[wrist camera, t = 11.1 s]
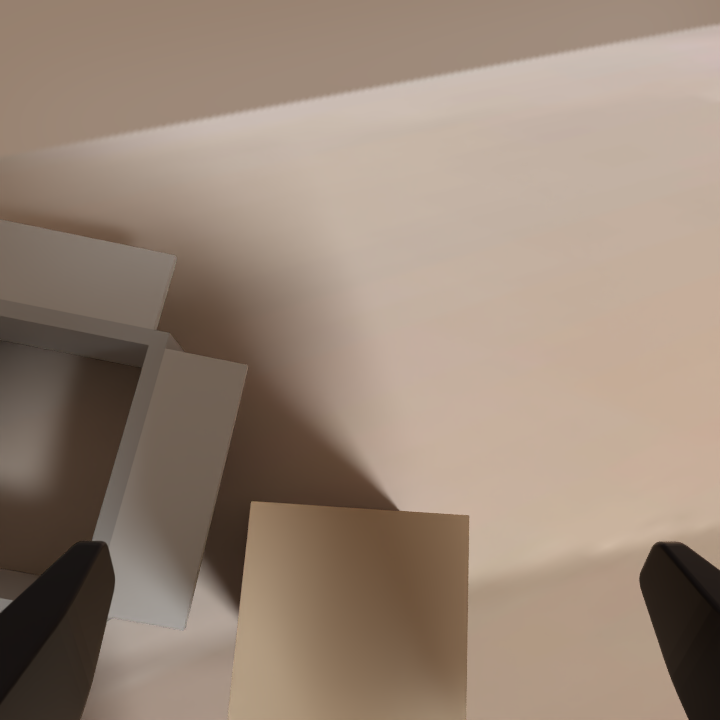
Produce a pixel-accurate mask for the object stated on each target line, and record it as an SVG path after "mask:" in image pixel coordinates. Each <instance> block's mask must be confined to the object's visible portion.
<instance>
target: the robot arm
mask: <svg viewBox="0 0 720 720" xmlns="http://www.w3.org/2000/svg"><path fill="white" fill-rule="evenodd" d="M639 579H640V587H641V591H642V594H643V597H644V600H645V603H646V606H647V609H648V612H649V615H650V618H651V621H652V624H653V627H654V630H655V633H656V636H657V639H658V642H659V645H660V648H661V652H662V655H663V658H664V661H665V664H666V666H667V669H668V672H669V675H670V677H671V680H672V682H673V685H674V687H675V689H676V692H677V694H678V696H679V699H680V701H681V703H682V706H683V708H684V710H685V712H686V715H687V717H688V719H689V720H720V570H719V569H717V568H716V567H715V566H713V565H712V564H711V563H709V562H708V561H707V560H705V559H704V558H703V557H701V556H700V555H699V554H697V553H696V552H694V551H693V550H692V549H690V548H689V547H688V546H686V545H685V544H683V543H680V542H657V543H655V544H654V545H653V547H652V548H651V551H650V553H649V555H648V557H647V559H646V561H645V563H644V566H643V568H642V570H641V573H640V578H639ZM114 588H115V573H114V569H113V564H112V560H111V556H110V552H109V547H108V545H107V543H106V542H104V541H80V542H78V543H76V544H74V545H73V546H72V547H71V548H70V549H69V550H68V551H67V552H66V553H65V554H63V555H62V556H61V557H60V558H59V559H58V560H57V561H56V562H55V563H54V564H53V565H51V566H50V567H49V568H48V569H47V570H46V571H45V572H44V573H43V574H42V575H41V576H39V577H38V578H37V579H36V580H35V581H34V582H33V583H32V584H31V585H30V586H29V587H28V588H26V589H25V590H24V591H23V592H22V593H21V594H20V595H19V596H18V597H17V598H16V599H14V600H13V601H12V602H11V603H10V604H9V605H8V606H7V607H6V608H5V609H4V610H2V611H1V612H0V720H80V718H81V716H82V713H83V710H84V707H85V704H86V701H87V698H88V695H89V692H90V689H91V685H92V681H93V677H94V673H95V669H96V665H97V661H98V656H99V652H100V648H101V644H102V640H103V635H104V631H105V627H106V623H107V619H108V614H109V610H110V606H111V602H112V598H113V593H114Z"/></svg>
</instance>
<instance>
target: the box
mask: <svg viewBox="0 0 720 720" xmlns="http://www.w3.org/2000/svg"><path fill="white" fill-rule="evenodd" d="M468 557H469V516H468V515H453V514H438V513H423V512H408V511H393V510H378V509H363V508H348V507H333V506H317V505H302V504H287V503H272V502H257V501H251V507H250V516H249V525H248V534H247V543H246V553H245V562H244V571H243V580H242V589H241V599H240V608H239V617H238V626H237V635H236V644H235V654H234V663H233V672H232V681H231V690H230V700H229V709H228V718H227V720H466V691H467V624H468Z"/></svg>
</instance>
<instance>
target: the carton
mask: <svg viewBox="0 0 720 720" xmlns="http://www.w3.org/2000/svg"><path fill="white" fill-rule="evenodd" d="M176 262H177V258H176V256H175V255H172V254H167V253H163V252H158V251H153V250H148V249H143V248H138V247H133V246H128V245H124V244H119V243H114V242H109V241H104V240H99V239H94V238H89V237H85V236H80V235H75V234H70V233H65V232H60V231H55V230H50V229H45V228H41V227H36V226H31V225H26V224H21V223H16V222H11V221H6V220H2V219H0V340H3V341H8V342H13V343H18V344H23V345H28V346H33V347H39V348H44V349H49V350H54V351H59V352H64V353H69V354H74V355H79V356H84V357H89V358H95V359H100V360H105V361H110V362H115V363H120V364H125V365H130V366H135V367H140V368H142V370H141V374H140V377H139V381H138V384H137V388H136V391H135V394H134V398H133V401H132V405H131V408H130V412H129V415H128V418H127V422H126V425H125V429H124V432H123V436H122V439H121V442H120V446H119V449H118V453H117V456H116V460H115V463H114V466H113V470H112V473H111V477H110V480H109V484H108V487H107V490H106V494H105V497H104V501H103V504H102V508H101V511H100V514H99V518H98V521H97V525H96V528H95V532H94V535H93V538H92V541H104V542H106V543H107V545H108V547H109V552H110V556H111V560H112V564H113V569H114V573H115V588H114V593H113V598H112V602H111V606H110V610H109V614H108V619H107V621H108V620H110V619H112V618H115V619H120V620H126V621H132V622H137V623H143V624H149V625H154V626H160V627H165V628H171V629H177V630H182V631H183V630H184V629H185V628H186V625H187V620H188V616H189V612H190V608H191V604H192V600H193V596H194V591H195V587H196V583H197V579H198V575H199V571H200V567H201V562H202V558H203V554H204V550H205V546H206V542H207V538H208V533H209V529H210V525H211V521H212V517H213V513H214V508H215V504H216V500H217V496H218V492H219V488H220V484H221V479H222V475H223V471H224V467H225V463H226V459H227V455H228V450H229V446H230V442H231V438H232V434H233V430H234V426H235V421H236V417H237V413H238V409H239V405H240V401H241V396H242V392H243V388H244V384H245V380H246V376H247V372H248V365H246V364H241V363H236V362H231V361H226V360H221V359H216V358H211V357H206V356H201V355H196V354H191V353H186V352H184V350H183V349H182V348H181V346H180V345H179V344H178V343H177V341H176V340H175V339H174V338H173V336H172V335H171V334H170V333H168V332H163V331H158V330H157V327H158V324H159V320H160V317H161V313H162V310H163V306H164V303H165V300H166V296H167V293H168V289H169V286H170V282H171V279H172V275H173V272H174V268H175V265H176ZM38 577H39V575H34V574H28V573H23V572H17V571H12V570H6V569H0V612H1V611H2V610H4V609H5V608H6V607H7V606H8V605H9V604H10V603H11V602H12V601H13V600H14V599H16V598H17V597H18V596H19V595H20V594H21V593H22V592H23V591H24V590H25V589H26V588H28V587H29V586H30V585H31V584H32V583H33V582H34V581H35V580H36V579H37V578H38Z"/></svg>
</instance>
